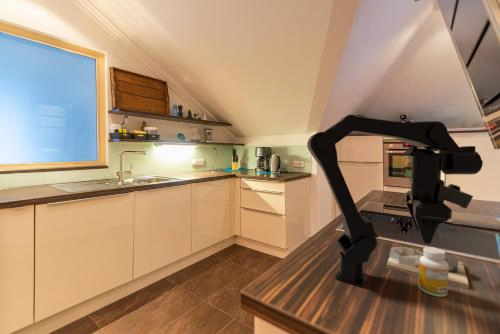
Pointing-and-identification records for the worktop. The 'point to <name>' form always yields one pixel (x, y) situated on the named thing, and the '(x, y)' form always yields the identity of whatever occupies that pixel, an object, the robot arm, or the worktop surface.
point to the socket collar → (413, 262)
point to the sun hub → (452, 263)
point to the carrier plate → (453, 278)
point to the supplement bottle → (433, 272)
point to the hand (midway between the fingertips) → (423, 236)
